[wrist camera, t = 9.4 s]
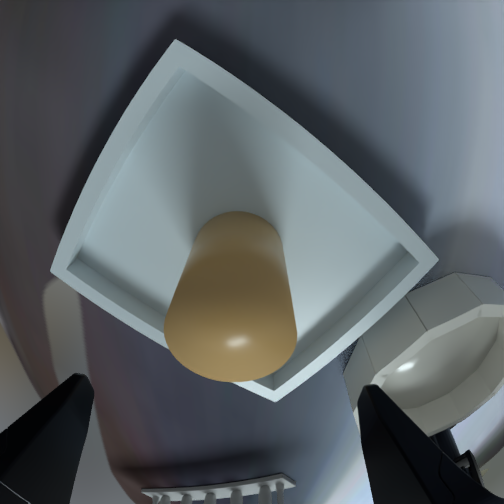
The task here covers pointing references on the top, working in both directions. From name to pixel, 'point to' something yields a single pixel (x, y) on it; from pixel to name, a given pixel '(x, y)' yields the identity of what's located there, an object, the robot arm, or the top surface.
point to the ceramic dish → (435, 351)
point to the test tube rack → (225, 491)
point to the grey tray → (234, 199)
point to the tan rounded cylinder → (233, 302)
